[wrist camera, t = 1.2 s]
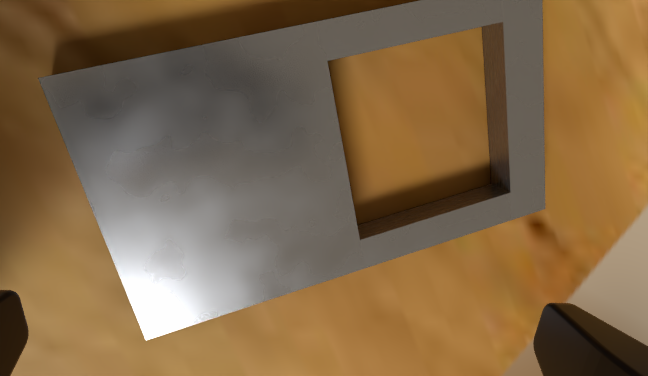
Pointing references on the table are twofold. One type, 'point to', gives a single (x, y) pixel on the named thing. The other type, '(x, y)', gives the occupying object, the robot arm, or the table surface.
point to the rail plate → (278, 157)
